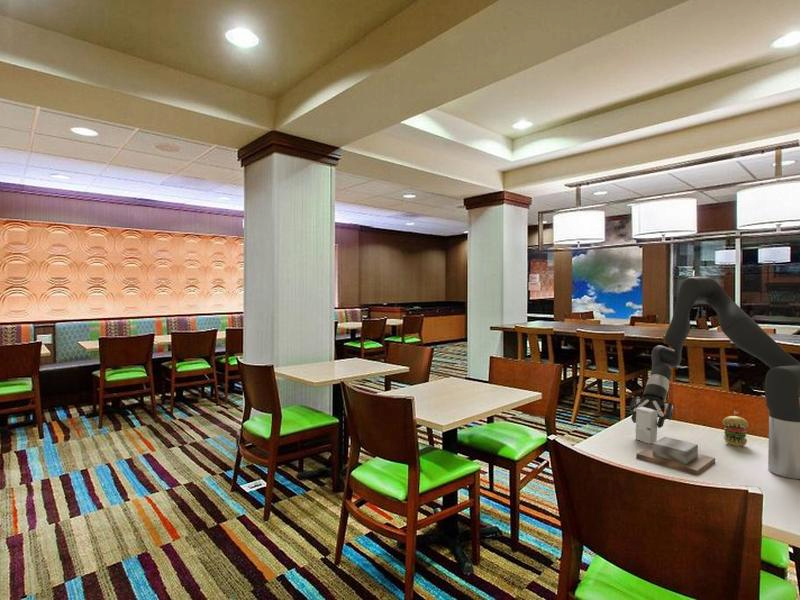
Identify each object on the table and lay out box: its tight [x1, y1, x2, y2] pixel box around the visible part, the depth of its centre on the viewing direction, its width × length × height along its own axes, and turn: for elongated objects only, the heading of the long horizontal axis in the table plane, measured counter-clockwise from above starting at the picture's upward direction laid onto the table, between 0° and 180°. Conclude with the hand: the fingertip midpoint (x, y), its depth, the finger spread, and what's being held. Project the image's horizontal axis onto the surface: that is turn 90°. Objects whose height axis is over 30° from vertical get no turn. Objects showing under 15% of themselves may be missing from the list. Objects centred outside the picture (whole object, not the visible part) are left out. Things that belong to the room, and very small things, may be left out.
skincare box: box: [634, 407, 659, 445], centre depth 166 cm, size 6×4×12 cm
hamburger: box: [722, 410, 749, 447], centre depth 162 cm, size 8×7×12 cm
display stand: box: [636, 436, 716, 476], centre depth 148 cm, size 18×16×6 cm
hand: (646, 424), depth 166 cm, fingers open, 8 cm apart
